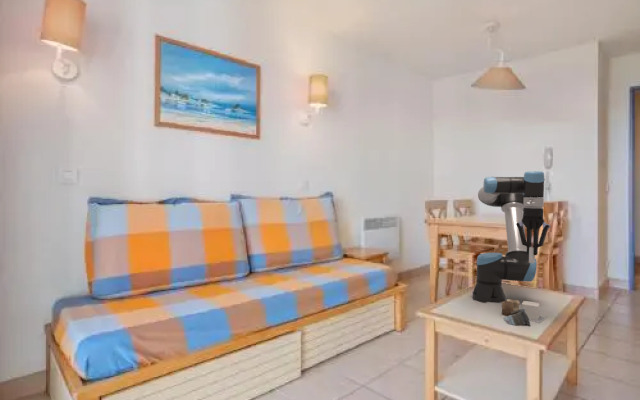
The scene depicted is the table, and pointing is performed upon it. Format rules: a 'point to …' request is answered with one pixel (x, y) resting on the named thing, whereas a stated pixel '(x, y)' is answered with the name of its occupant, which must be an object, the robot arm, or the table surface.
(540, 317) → the mat
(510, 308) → the walnut cylinder
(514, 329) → the table surface
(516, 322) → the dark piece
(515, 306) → the beech cube
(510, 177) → the robot arm
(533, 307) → the plain block
